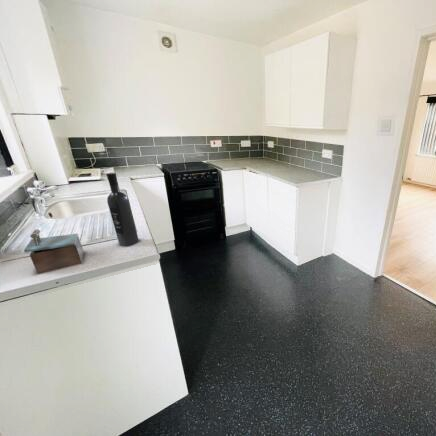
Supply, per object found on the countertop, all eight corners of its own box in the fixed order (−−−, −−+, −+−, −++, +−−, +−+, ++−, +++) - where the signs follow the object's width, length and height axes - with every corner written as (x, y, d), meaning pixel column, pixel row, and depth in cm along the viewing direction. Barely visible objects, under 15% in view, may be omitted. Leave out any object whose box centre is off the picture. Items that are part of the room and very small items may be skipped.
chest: (38, 275, 82) (29, 254, 79) (44, 262, 90) (36, 243, 87) (82, 264, 88) (75, 245, 86) (84, 253, 96) (78, 235, 94)
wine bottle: (128, 248, 100) (109, 175, 90) (118, 246, 102) (98, 174, 92) (140, 242, 105) (123, 172, 95) (130, 240, 107) (112, 172, 97)
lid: (24, 252, 78) (20, 238, 77) (32, 241, 86) (28, 228, 85) (75, 245, 85) (72, 231, 84) (77, 235, 94) (75, 223, 92)
